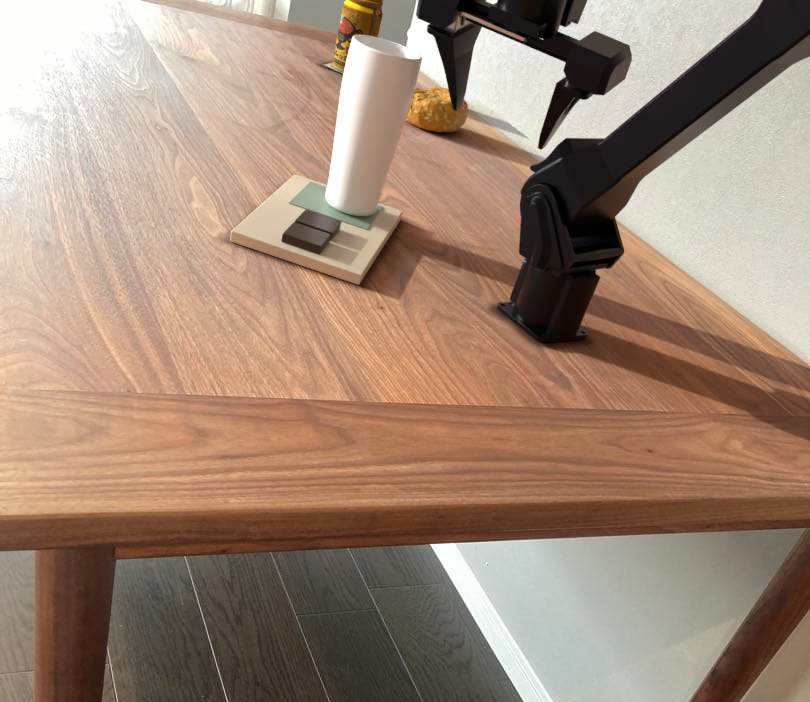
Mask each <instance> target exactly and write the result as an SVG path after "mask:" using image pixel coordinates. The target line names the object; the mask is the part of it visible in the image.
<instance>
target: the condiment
mask: <svg viewBox="0 0 810 702" xmlns="http://www.w3.org/2000/svg"><path fill="white" fill-rule="evenodd" d="M383 2H384V0H345V1H344V2H343V6H342V11H341V15H340V21H339V26H338V30H337V31H338V32H337V36H336V41H335V45H334V50H333V56H332V62H329V63H324V64H321V65H322V66H325V67H326V68H329V69H331V70H333V71H336V72H338V73H341V74H343V73H344V68H345V64H346V59H347V55H348V51H349V48H350V44H351V40H352V37H353V36H354V35H368V36H374V37H378V38H379V33H380V28H381V25H382V21H383V15H384V14H383V5H384V3H383Z"/></svg>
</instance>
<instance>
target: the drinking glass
mask: <svg viewBox="0 0 810 702" xmlns="http://www.w3.org/2000/svg"><path fill="white" fill-rule="evenodd" d="M422 62H423V58H422V55H421V54H420V53H418V52H417V51H415V50H413V49H411V48H409V47H408V46H405V45H403V44H400V43H397V42H394V41H392V40H388V39H386V38H381V37H379V36H378V37H374V36H368V35H354V36H353V37H352V40H351V44H350V48H349V51H348V55H347V59H346V64H345V68H344V73H342V78H341V79H342V80H341V86H340V91H339V99H338V104H337V105H338V106H337V115H336V120H335V121H336V122H335V129H334V136H333V145H332V151H331V152H332V153H331V159H330V166H329V174H328V178H327V179H328V180H327V184H326V185H327V188H326V193H325V197H326V201H327V202H328V204H329V205H330V206H332V207H333V208H335V209H336V210H338V211H341V212H343V213H346V214H349V215H354V216H370V215H372V214H374V213H375V212H376V210H377V207H378V203H380V200H381V195H382V191H383V189H384V186H385V182H386V179H387V177H388V174H389V171H390V168H391V165H392V162H393V159H394V157H395V153H396V150H397V147H398V144H399V142H400V140H401V136H402V133H403V131H404V128H405V125H406V123H407V121H406V119H407V116H408V113H409V110H410V107H411V103H412V100H413V96H414V93H415V89H416V88H417V85H418V80H419V76H420V71H421V67H422Z"/></svg>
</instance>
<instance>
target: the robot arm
mask: <svg viewBox="0 0 810 702" xmlns="http://www.w3.org/2000/svg"><path fill="white" fill-rule="evenodd" d="M587 2H588V0H497V1H496V2H495V3H491V2H489V1H487V0H417V5H416V6H417V7H416V12H415V16H416V17H417V19H418V20H420V21H423V22H426V23H427V26H426V32H427V33H428V34H429V35H431V36H433V38H434V40H435V44H436V47H437V50H438V53H439V56H440V60H441V63H442V67H443V70H444V75H445V80H446V84H447V89H449V94H450V99H451V104H452V109H453V110H454V111H458V110H459V109H461V107H462V103H463V100H465V96H466V93H467V88H468V82H469V76H470V71H471V65H472V60H473V54H474V48H475V44H476V42H477V40H478V37H479V36H480V33H481V31H482V28H484V29H486V30H488V31H491V32H493V33H495V34H497V35H500V36H501V37H505V38H507V39H510V40H511V41H514V42H517V43H519V44H521V45H524V46H526V47H529V48H530V49H533V50H535V51H537V52H540V53H542V54H545V55H547V56H550V57H552V58H554V59H557V60H559V61H561V62H563V63H565V64H564V66H563V70H562V71H563V73H564V77H563V78H561V79H560V80H559V81H557V82H556V83H555V87H554V89H553V92H552V95H551V98H550V101H549V105H548V108H547V112H546V114H545V118H544V121H543V123H542V127H541V129H540V134H539V138H538V144H537V149H539V150H540V151H541V150H543V149H545V148H546V147H547V146H548V144H549V142H550V141H551V140H552V138H553V136H554V135H555V134H556V132H557V131H558V130H559V128H560V126H561V125H562V124H563V123H564V121H565V119H566V118H567V116H568V115H569V114H570V112H571V111H572V109H573V108H574V107H575V106H576V105H577V104H578V102H579V101H580V100H583V101H585V100H588V99H590V98H591V97H593V96H594V95H595V96H605V95H607V93H609V92H610V91H611V90H613V89H615V88H616V87H617V86H618V85H620V84H621V83H623V81H625V80H626V78H627V75H628V73H629V70H630V67H631V64H632V61H633V54H632V51H631V46H630V44H628V43H625V42H623V41H620V40H618V39H616V38H613V37H611V36H609V35H606V34H604V33H601V32H599V31H596V30H594V31H592V32H590V33H589V34H587V35H586V36H584V37H583V38H580V39H577V38H575V37H573V36H570V35H567V34H565V33H562V32H560V31H559V29H560V27H564V28H567V27H569V26H570V25H572V23H573V24H575V25H579V22H580V20H581V18H582V15H583V13H584V10H585V7H586V5H587ZM808 58H810V0H761V2H760V4H759V5H758V7H757V9H756V10H755V11H754V12H753V14H751V16H750V17H749V18H748V19H746V20H745V21H744V22H742V23H741V25H739V26H738V27H737V28H736V29H734V30H733V31H732V32H730V33H729V34H728V35H727V36H726V37H725V38H724V39H722V40H721V41H720V42H719V43H718V44H716V45H715V46H714V47H713V48H711V49H710V50H709V51H707V53H705V54H704V55H703V56H702V57H701V58H700V59H698V60H697V61H695V63H693V64H692V65H691V66H690V67H689V68H687V69H686V70H685V71H683V72H682V74H680V75H679V76H678V77H677V78H675V79H674V80H673V81H671V82H670V83H669V84H668V85H667V86H666V87H664V88H663V89H662V90H661V91H660V92H659V93H657V94H656V95H655V96H654V97H653V98H651V99H650V100H649V101H648V102H646V103H645V104H644V105H643V106H642V107H641V108H639V109H638V110H637V111H635V113H633V114H632V115H631V116H630V117H629V118H627V119H626V120H625V121H624V122H622V123H621V124H620V125H619V126H618V127H617V128H615V129H614V130H613V131H611V133H609V134H608V135H607V136H606V137H604V138H602V137H598V138H597V137H583V138H582V137H566V138H564V139H562V141H560V142H559V143H558V144H557V145H556V146H555V147H554V149H553V150H552V151H551V152H550V153H549V154H548V156H547V157H546V158H545V159H543V160H541V161H540V162H539V163H535V164H531V165H530V166H529V170H530V171H531V172H533V174H531V175H530V176H529V177H528V178H527V179H526V180H525V182H524V183H523V185H522V187H521V188H520V192H519V193H520V195H521V196H520V200H519V215H520V226H519V227H520V228H519V242H518V243H519V245H518V254H519V255H520V256H521V257H522V258H524V259H523V261H522V263H521V266H520V269H519V271H518V274H517V276H516V280H515V282H514V285H513V288H512V290H511V293H510V298H509V302H508V301H507V302H498V303H497V306H496V309H497V310H498V311H499V312H500V313H502V314H503V315H504V316H505V317H506V318H508V319H509V320H510V321H512V322H513V323H514V324H515V325H517V327H519V328H520V329H521V330H522V331H524V332H525V333H526V334H527V335H529V336H530V337H531V338H532V339H533V340H535V341H536V342H540V343H548V342H550V343H551V342H563V341H576V340H586V339H587V337H588V335H589V333H588V332H587V331H586V330H584V329H583V328H582V327H581V325H582V322H583V320H584V317H585V315H586V313H587V310H588V309H589V306H590V303H591V300H592V298H593V296H594V294H595V291H596V289H597V287H598V284H599V282H600V280H601V275H598V274H597V270H602V269H603V270H604V269H606V270H608V269H609V270H610V269H612V268H613V267H614V266H615V265H616V264H617V262H618V261H619V260H620V259H621V258H622V256H624V254H625V248H624V244H623V243H624V242H623V239H622V237H621V233H620V230H619V226H618V222H617V219H616V217H617V216H618V215H619V214H620V213H621V212H622V211H623V209H625V207H626V206H627V205H628V204H629V201H630V200H631V198H632V196H633V194H634V193H635V191H636V189H637V187H638V186H639V184H640V183H641V181H643V179H645V177H647V176H648V175H649V174H651V173H653V171H655V170H656V169H658V167H660V166H661V165H662V164H664V163H665V162H666V161H668V160H670V159H671V157H673V156H674V155H676V154H677V153H679V151H681V150H682V149H684V148H685V147H686V146H688V145H689V144H690V143H691V142H692V141H694V140H696V139H697V138H698V137H699V136H701V135H702V134H703V133H704V132H706V131H707V130H708V129H710V128H711V127H713V126H714V125H715V124H717V123H718V122H719V121H721V120H722V119H723V118H724V117H726V116H727V115H728V114H730V113H731V112H732V111H733V110H735V109H736V108H737V107H739V106H740V105H741V104H742V103H744V102H745V101H746V100H748V99H749V98H751V97H752V96H753V95H755V94H756V93H758V92H759V91H760V90H761V89H762V88H764V87H766V86H767V85H768V84H769V83H770V82H771V81H773V80H775V78H777V77H778V76H780V75H781V74H783V73H784V72H785V71H786V70H788V69H789V68H790V67H791V66H793V65H795V64H797V63H800V62H801V61H804V60H805V59H808Z"/></svg>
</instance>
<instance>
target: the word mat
mask: <svg viewBox="0 0 810 702" xmlns="http://www.w3.org/2000/svg"><path fill="white" fill-rule="evenodd" d="M326 188H327V184H325V183H322V182H320V181H316V180H313V179H310V178H307V177H304V176H301V175H298V174H296V173H295V174H293V175H292V176H291V177H290V178H289V179H287V180H286V181H285V182H284V183H283V184H282V185H281V186H280V187H279V188H278V189H276V190H275V191H274V192H273V193H272V194H271V195H270V196H268V198H266V199H265V200H264V201H263V202H262V203H261V204H259V206H258V207H257V208H255V209H254V210H253V211H252V212H251V213H249V214H248V216H246V217H245V218H244V219H243V220H242V221H241V222H240V223H238V224H237V225H236V226H235V227H234V228H233V229H232V230H231V232H230V237H229V242H231V243H234V244H237V245H240V246H243V247H246V248H248V249H252V250H255V251H257V252H260V253H263V254H267V255H270V256H273V257H275V258H278V259H281V260H284V261H287V262H290V263H293V264H295V265H299V266H302V267H305V268H307V269H309V270H313V271H317V272H319V273H322V274H325V275H328V276H331V277H334V278H337V279H340V280H341V281H342V280H343V281H345V282H348V283H352V284H354V285H357V286H359V285H360V284H361V282H362V281H363V280H364V278H365V276H366V275H367V273H368V271H369V270H370V268H371V267H372V266H373V264H374V262H375V260H376V259H377V257H378V256H379V254H380V253H381V251H382V249H383V248H384V246H385V245H386V244H387V242H388V240H389V239H390V237H391V236H392V234H393V233H394V231H395V229H396V228H397V226H398V225H399V223H400V221H401V220H402V217H403V213H404V211H403V210H401V209H398V208H395V207H393V206H390V205H386V204H384V203H381V202H379V203H378V207H377V210H376V212H375V213H374V214H372V215H370V216H354V215H349V214H346V213H343V212H341V211H338V210H336V209H335V208H333V207H332V206H330V205H329V204H328V202H327V201H326V197H325V193H326Z"/></svg>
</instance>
